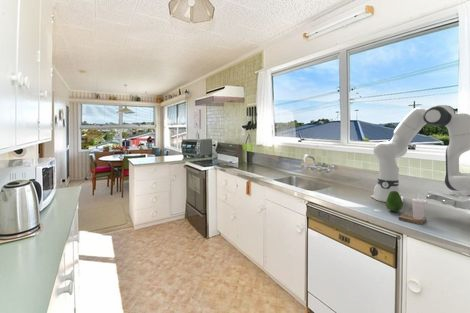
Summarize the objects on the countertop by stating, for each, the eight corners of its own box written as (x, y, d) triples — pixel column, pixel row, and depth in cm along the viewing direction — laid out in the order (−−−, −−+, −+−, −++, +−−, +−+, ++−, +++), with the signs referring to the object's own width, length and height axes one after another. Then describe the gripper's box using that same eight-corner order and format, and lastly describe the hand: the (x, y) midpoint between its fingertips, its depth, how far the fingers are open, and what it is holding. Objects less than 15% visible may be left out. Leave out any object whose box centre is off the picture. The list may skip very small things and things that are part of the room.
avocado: (388, 208, 149) (389, 188, 148) (403, 211, 143) (405, 191, 142) (383, 211, 143) (385, 190, 142) (399, 214, 138) (401, 193, 137)
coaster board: (403, 215, 137) (403, 212, 137) (425, 220, 130) (426, 217, 130) (398, 219, 130) (398, 216, 130) (422, 225, 123) (422, 222, 123)
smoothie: (410, 215, 132) (412, 189, 131) (425, 218, 128) (428, 191, 126) (409, 218, 127) (411, 191, 126) (425, 221, 123) (427, 193, 122)
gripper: (441, 188, 142) (419, 188, 140) (480, 198, 121) (454, 199, 120) (440, 199, 142) (418, 199, 141) (478, 211, 122) (453, 211, 121)
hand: (435, 199), depth 130 cm, fingers open, 8 cm apart
